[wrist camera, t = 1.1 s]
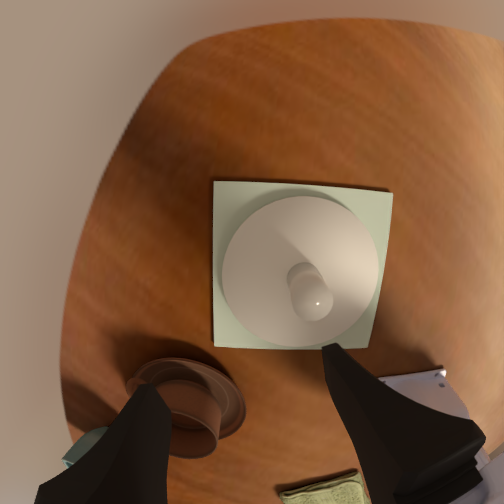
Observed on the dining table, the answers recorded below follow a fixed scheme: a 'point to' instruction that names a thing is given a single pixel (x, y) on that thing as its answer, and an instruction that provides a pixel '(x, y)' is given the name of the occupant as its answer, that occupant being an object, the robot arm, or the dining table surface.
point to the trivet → (259, 194)
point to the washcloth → (330, 492)
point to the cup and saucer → (193, 403)
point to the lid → (300, 271)
